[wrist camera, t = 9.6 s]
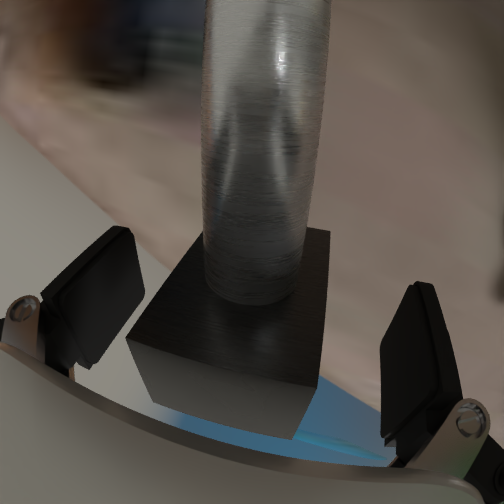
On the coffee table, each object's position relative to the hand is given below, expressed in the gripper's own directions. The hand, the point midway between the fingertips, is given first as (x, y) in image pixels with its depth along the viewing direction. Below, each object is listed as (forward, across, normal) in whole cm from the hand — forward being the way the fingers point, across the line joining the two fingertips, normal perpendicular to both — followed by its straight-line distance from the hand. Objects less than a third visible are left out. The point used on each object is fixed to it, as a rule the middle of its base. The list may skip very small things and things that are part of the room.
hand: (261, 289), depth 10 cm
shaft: (+2, 0, -9) cm, 9 cm away
